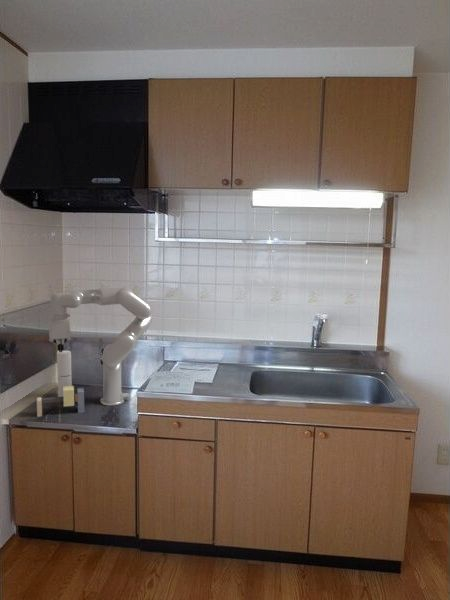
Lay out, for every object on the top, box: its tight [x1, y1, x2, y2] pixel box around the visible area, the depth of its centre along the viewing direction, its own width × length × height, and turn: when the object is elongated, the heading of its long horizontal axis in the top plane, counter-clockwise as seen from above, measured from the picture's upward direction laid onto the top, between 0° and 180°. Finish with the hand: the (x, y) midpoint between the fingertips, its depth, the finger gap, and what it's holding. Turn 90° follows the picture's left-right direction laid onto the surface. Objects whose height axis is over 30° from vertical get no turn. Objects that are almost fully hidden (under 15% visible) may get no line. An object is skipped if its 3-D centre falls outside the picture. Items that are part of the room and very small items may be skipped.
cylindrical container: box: [56, 350, 73, 397], centre depth 244 cm, size 7×7×25 cm
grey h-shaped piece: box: [36, 387, 85, 418], centre depth 224 cm, size 22×6×11 cm, turn 110°
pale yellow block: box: [63, 385, 75, 407], centre depth 225 cm, size 5×6×8 cm
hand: (60, 351), depth 231 cm, fingers closed
